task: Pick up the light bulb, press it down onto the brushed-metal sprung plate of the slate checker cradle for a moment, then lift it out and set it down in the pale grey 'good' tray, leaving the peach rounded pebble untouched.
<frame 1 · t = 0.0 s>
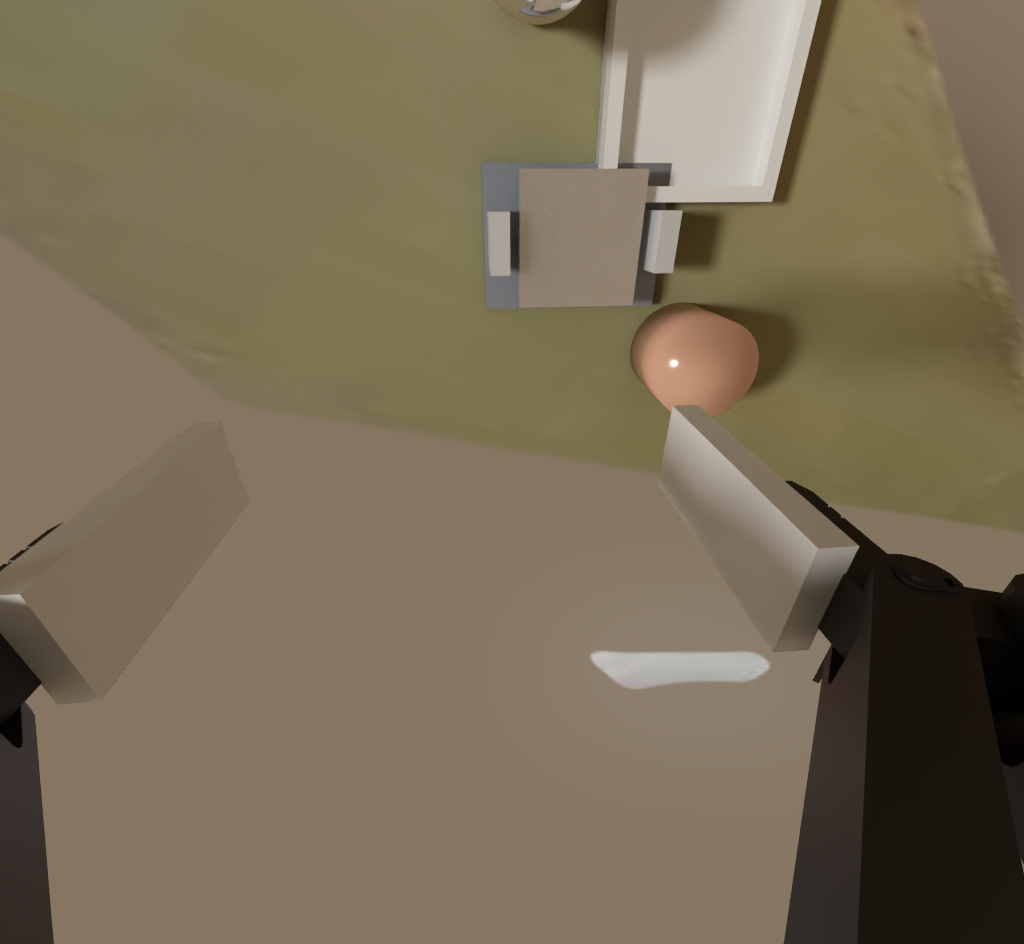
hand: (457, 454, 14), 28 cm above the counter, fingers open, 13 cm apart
sprung plate: (579, 241, 34), point 3 cm above the counter, slide at 0.7 cm, touching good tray
peach rounded pebble: (673, 348, 41), on the counter
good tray: (690, 96, 32), on the counter
checker cradle: (571, 239, 36), on the counter
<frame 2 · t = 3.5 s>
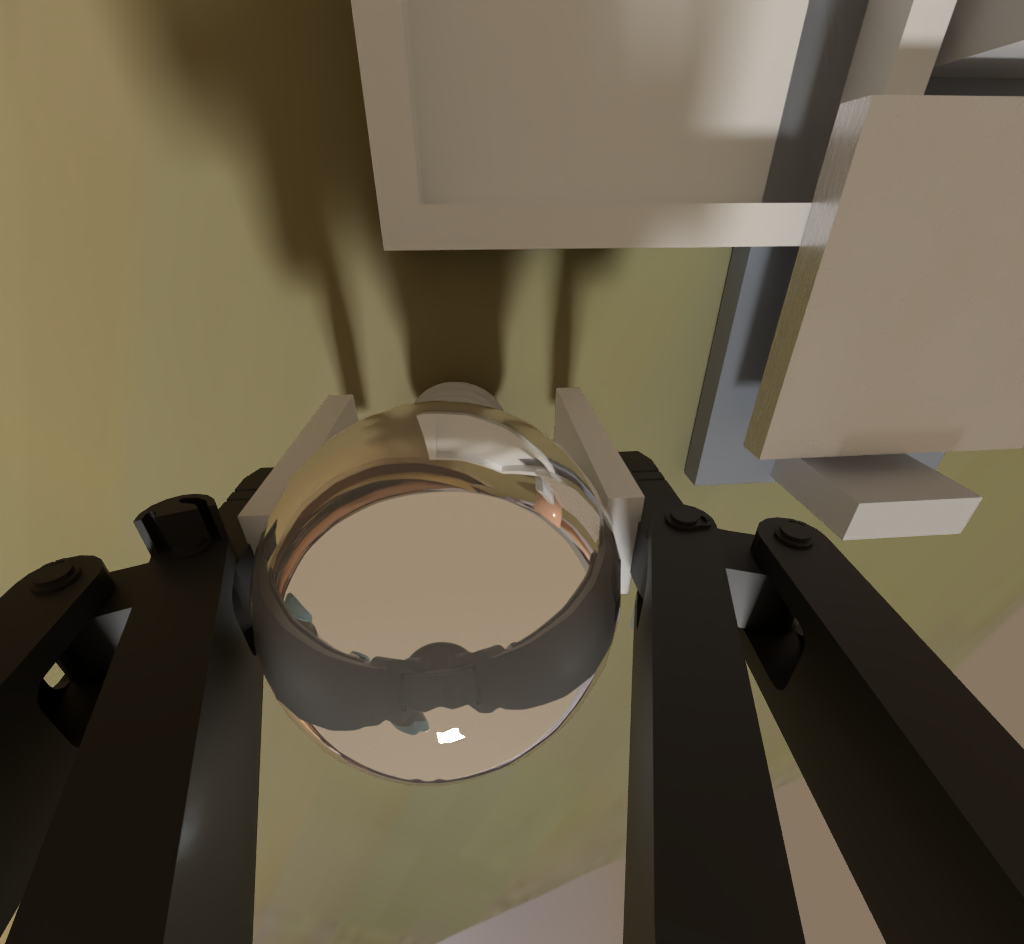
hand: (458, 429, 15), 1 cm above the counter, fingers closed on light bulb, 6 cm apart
sprung plate: (946, 304, 13), point 3 cm above the counter, slide at 0.7 cm, touching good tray
light bulb: (459, 410, 17), on the counter, touching gripper
checker cradle: (866, 288, 15), on the counter
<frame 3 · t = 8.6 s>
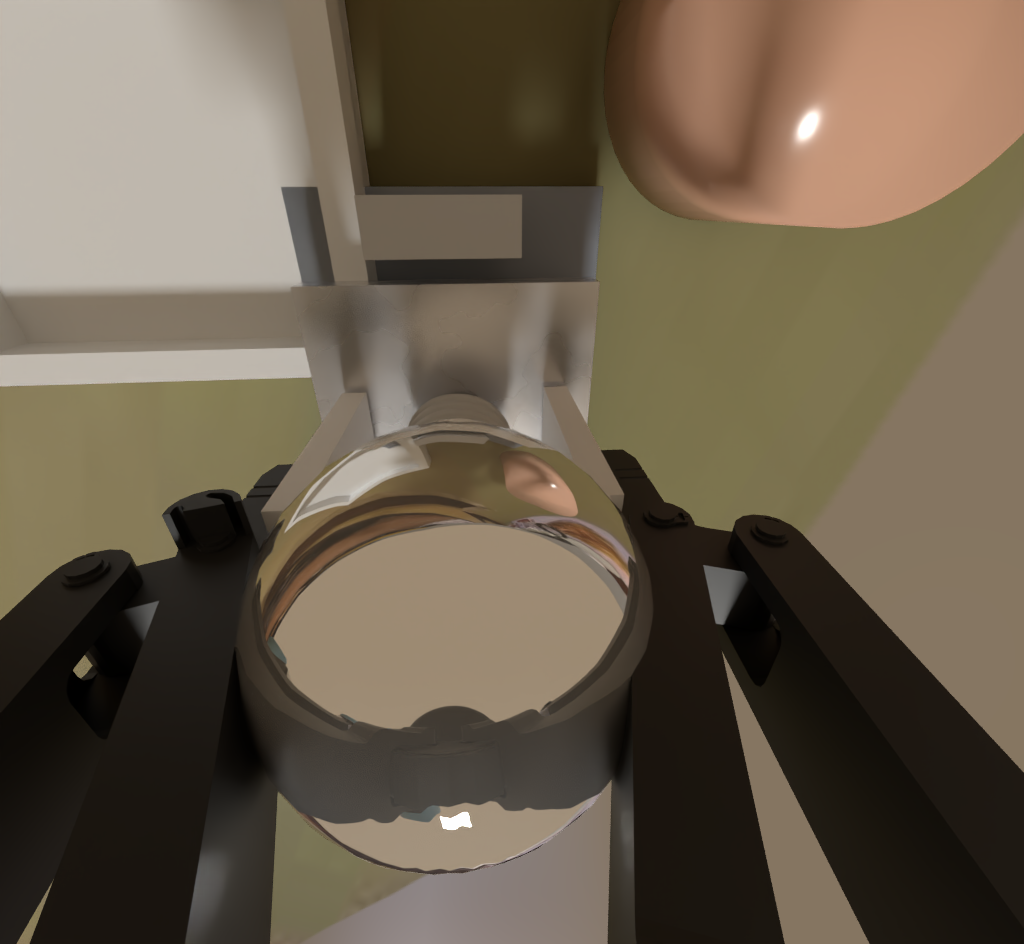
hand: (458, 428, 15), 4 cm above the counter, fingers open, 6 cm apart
sprung plate: (458, 418, 16), point 3 cm above the counter, slide at 0.7 cm, touching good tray, gripper, light bulb
light bulb: (459, 422, 16), point 3 cm above the counter, touching sprung plate
peach rounded pebble: (730, 73, 14), on the counter
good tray: (149, 149, 14), on the counter
checker cradle: (460, 389, 19), on the counter
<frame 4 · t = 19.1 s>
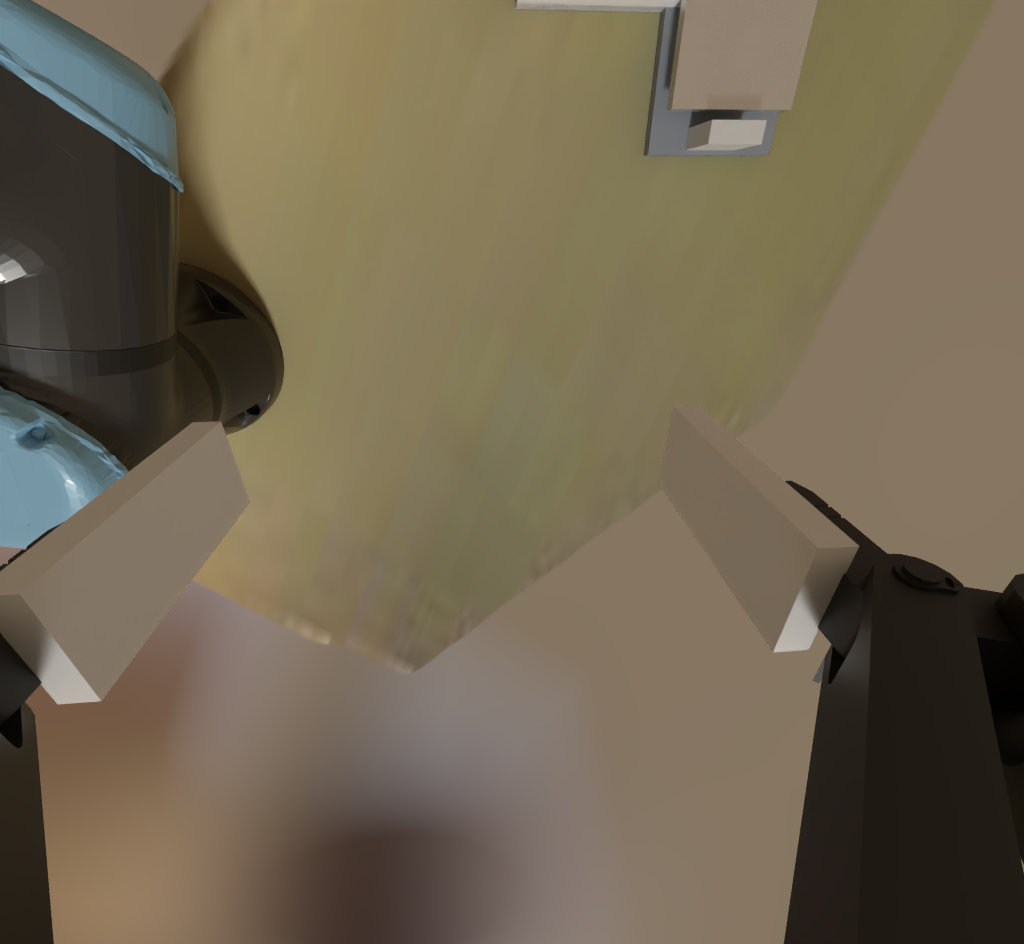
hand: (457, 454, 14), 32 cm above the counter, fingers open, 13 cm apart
sprung plate: (744, 27, 31), point 3 cm above the counter, slide at 0.7 cm, touching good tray
checker cradle: (723, 41, 34), on the counter
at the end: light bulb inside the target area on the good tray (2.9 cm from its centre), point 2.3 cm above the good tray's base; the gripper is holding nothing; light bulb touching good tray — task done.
